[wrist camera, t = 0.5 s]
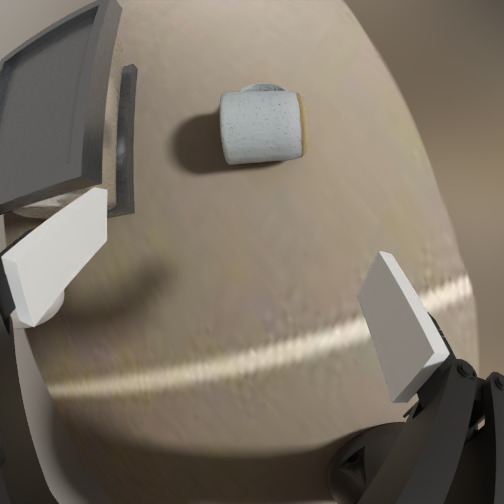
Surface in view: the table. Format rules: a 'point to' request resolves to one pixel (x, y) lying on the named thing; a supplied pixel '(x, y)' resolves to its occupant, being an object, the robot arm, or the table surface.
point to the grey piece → (68, 116)
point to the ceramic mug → (263, 124)
